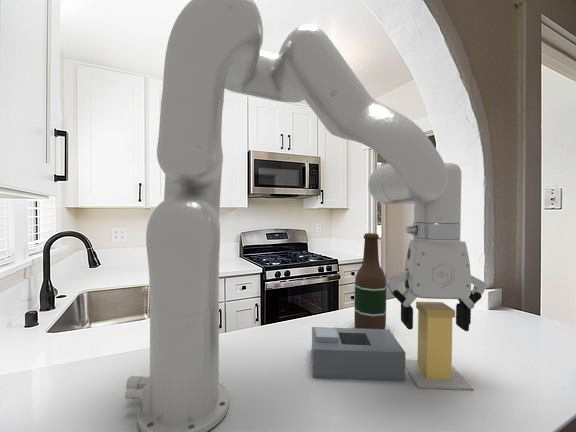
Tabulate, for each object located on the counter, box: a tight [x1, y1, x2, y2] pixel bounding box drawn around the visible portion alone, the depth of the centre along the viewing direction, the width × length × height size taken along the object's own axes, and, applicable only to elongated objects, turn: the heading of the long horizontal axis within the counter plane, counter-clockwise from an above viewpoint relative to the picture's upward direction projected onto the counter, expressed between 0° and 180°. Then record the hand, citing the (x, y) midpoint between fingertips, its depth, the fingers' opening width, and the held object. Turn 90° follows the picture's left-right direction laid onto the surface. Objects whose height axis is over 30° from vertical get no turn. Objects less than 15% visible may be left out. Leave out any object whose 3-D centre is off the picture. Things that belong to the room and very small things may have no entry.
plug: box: [415, 301, 456, 380], centre depth 53 cm, size 5×5×12 cm
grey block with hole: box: [311, 326, 406, 382], centre depth 57 cm, size 16×10×6 cm, turn 87°
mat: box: [405, 359, 475, 391], centre depth 53 cm, size 9×9×1 cm
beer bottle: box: [353, 232, 387, 329], centre depth 74 cm, size 8×8×24 cm
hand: (434, 327), depth 53 cm, fingers open, 9 cm apart
